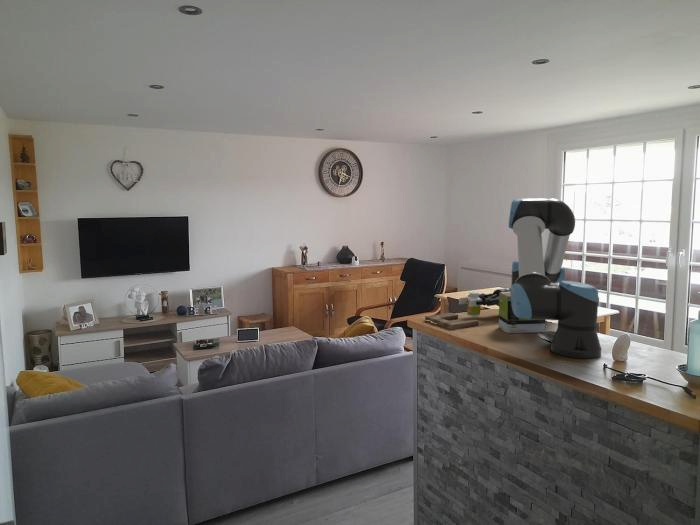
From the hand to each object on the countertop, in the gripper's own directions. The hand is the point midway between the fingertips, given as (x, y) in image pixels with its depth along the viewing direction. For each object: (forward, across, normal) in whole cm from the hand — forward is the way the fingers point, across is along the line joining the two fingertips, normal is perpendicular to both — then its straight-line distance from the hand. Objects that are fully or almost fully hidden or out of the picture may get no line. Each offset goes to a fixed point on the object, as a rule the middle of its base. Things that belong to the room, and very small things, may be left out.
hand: (464, 302), depth 206 cm
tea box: (-9, -23, -8) cm, 26 cm away
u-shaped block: (+8, -1, -8) cm, 11 cm away
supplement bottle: (-5, 0, -6) cm, 8 cm away
